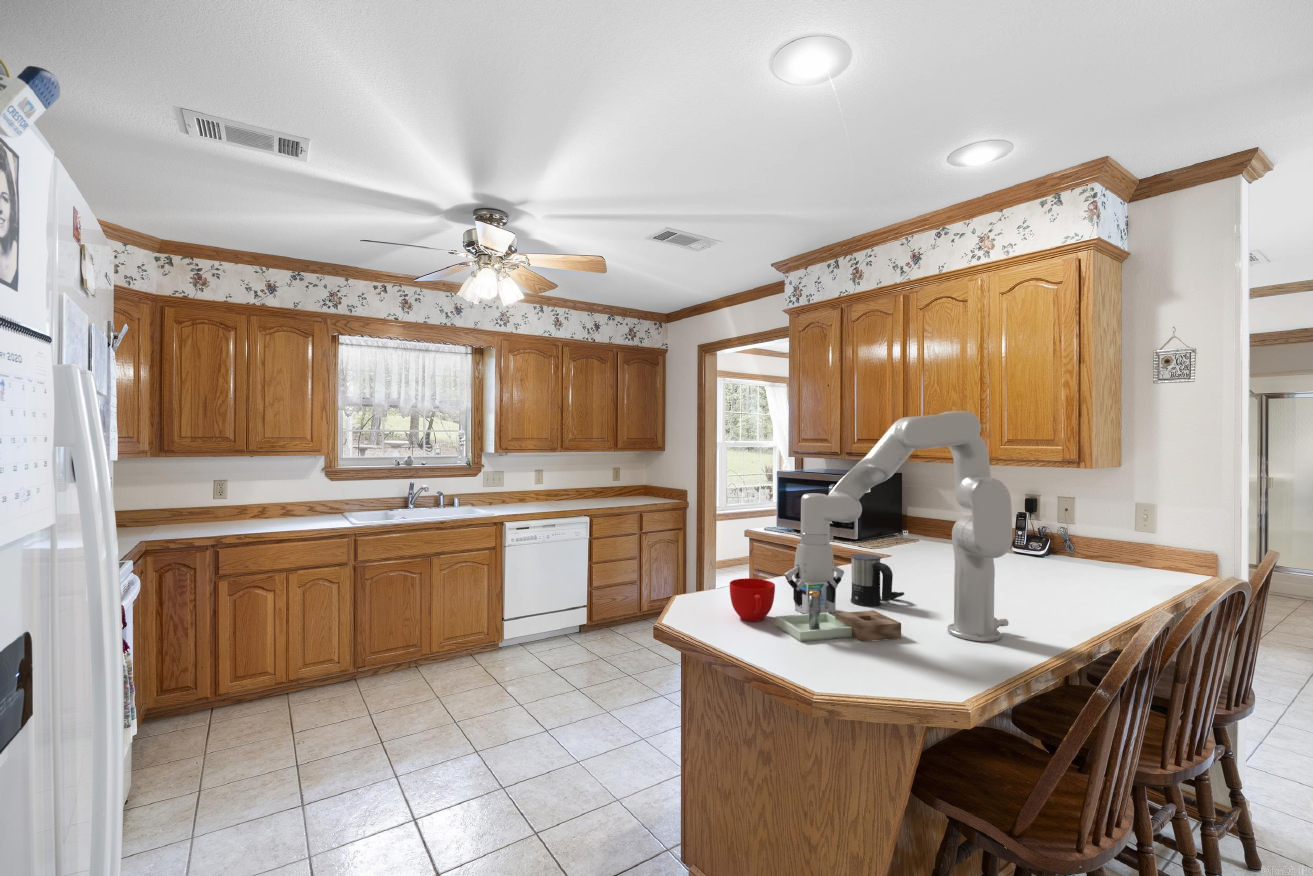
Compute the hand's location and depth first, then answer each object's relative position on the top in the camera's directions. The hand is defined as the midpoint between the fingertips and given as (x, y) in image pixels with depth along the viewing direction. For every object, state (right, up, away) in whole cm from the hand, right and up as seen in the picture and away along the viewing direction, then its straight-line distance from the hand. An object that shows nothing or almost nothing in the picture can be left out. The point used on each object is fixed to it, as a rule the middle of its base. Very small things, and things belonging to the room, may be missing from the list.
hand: (814, 602), depth 167 cm
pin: (0, -7, 0) cm, 7 cm away
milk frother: (+27, -8, +29) cm, 41 cm away
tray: (0, -8, 0) cm, 8 cm away
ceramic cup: (-15, -8, +9) cm, 19 cm away
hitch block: (+14, -8, -1) cm, 16 cm away
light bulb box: (+5, -8, +19) cm, 21 cm away
